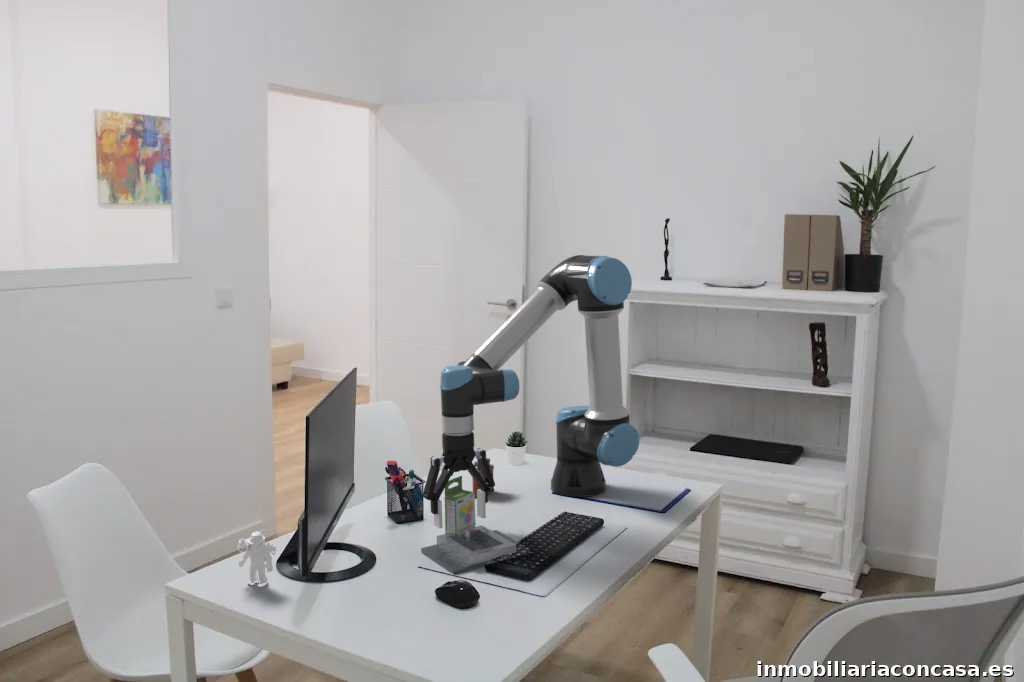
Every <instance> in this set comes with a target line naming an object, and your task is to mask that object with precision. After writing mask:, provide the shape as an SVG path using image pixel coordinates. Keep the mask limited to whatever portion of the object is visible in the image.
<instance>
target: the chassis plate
mask: <svg viewBox="0 0 1024 682" xmlns="http://www.w3.org/2000/svg"><path fill="white" fill-rule="evenodd" d="M518 543H520V542H519V541H517V540H515V539H513V538H511V537H510V536H509V535H506V534H504V533H503V532H501V531H499V530H497V529H495V530H490V529H489V528H488V527H485V526H484V525H478V526H476V527H473V528H469V529H465V536H464V537H462V538H460V539H458V534H456V533H455V532H452V533H447V534H445V533H443V534H440V535H436V544H433V545H428V546H424V547H421V548H420V551H421V553H422V554H423V555H424V556H425V557H428V558H429V559H430V560H432V561H434V562H435V563H436V564H438V565H440V567H442V568H443V569H445V570H446V571H448V572H449V573H451V574H452V575H455V574H460V573H463V572H467V571H470V570H474V569H479V568H483V567H486V566H485V563H486V562H488V561H490V560H492V559H494V558H496V557H499V556H502V555H506V554H511V553H515V552H517V551H516V544H518Z"/></svg>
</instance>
